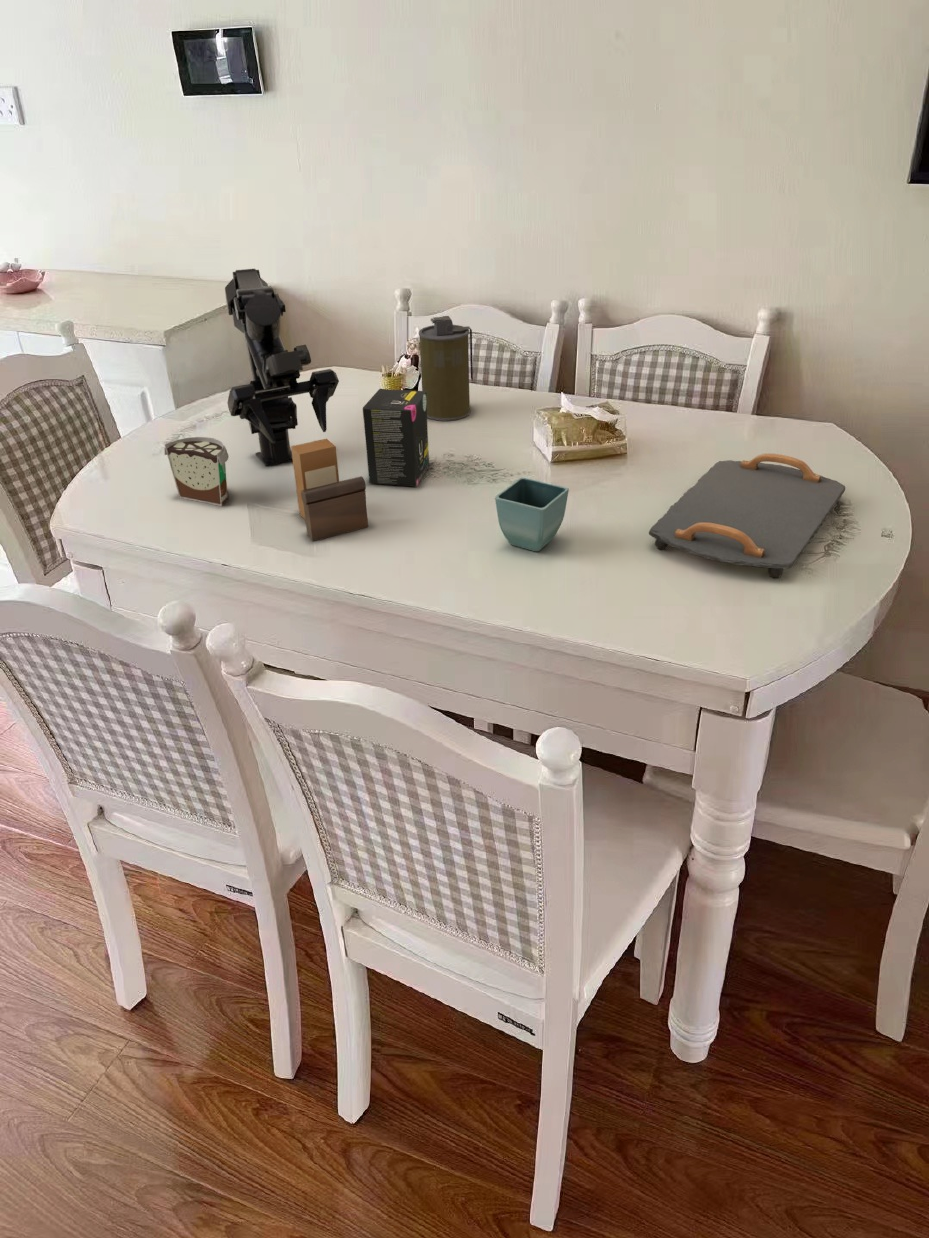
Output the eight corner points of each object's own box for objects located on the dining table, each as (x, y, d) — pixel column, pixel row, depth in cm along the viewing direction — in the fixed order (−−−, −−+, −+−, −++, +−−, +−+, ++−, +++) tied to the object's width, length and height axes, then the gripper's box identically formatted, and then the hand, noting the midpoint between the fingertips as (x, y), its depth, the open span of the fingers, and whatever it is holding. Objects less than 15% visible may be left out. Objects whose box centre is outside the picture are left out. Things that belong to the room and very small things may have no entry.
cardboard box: (299, 514, 166) (290, 446, 160) (333, 505, 169) (326, 438, 162) (308, 523, 163) (299, 454, 157) (343, 514, 166) (336, 446, 159)
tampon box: (417, 488, 174) (412, 410, 166) (367, 484, 176) (361, 407, 168) (431, 464, 183) (427, 389, 176) (384, 461, 185) (378, 387, 177)
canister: (426, 423, 202) (422, 327, 191) (418, 406, 210) (414, 313, 200) (477, 418, 203) (476, 322, 193) (467, 402, 212) (465, 309, 201)
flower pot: (542, 561, 150) (543, 509, 145) (493, 548, 154) (493, 496, 149) (568, 538, 156) (570, 487, 152) (520, 526, 160) (521, 476, 156)
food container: (249, 493, 174) (241, 441, 169) (228, 507, 169) (219, 454, 164) (194, 483, 178) (184, 432, 173) (172, 496, 174) (162, 444, 168)
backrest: (306, 536, 159) (300, 488, 155) (363, 521, 163) (359, 474, 159) (311, 541, 158) (305, 493, 153) (369, 526, 162) (365, 479, 157)
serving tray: (783, 592, 140) (789, 554, 137) (635, 554, 151) (638, 519, 148) (849, 494, 168) (856, 460, 165) (721, 468, 179) (725, 436, 175)
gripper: (221, 339, 155) (253, 425, 153) (329, 321, 163) (360, 403, 161) (215, 374, 166) (244, 455, 163) (316, 356, 173) (346, 433, 171)
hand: (299, 436), depth 164 cm, fingers open, 9 cm apart
